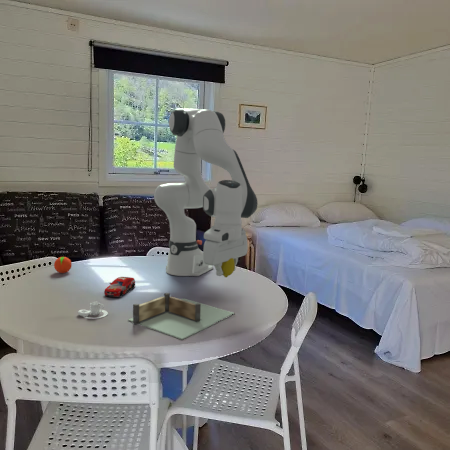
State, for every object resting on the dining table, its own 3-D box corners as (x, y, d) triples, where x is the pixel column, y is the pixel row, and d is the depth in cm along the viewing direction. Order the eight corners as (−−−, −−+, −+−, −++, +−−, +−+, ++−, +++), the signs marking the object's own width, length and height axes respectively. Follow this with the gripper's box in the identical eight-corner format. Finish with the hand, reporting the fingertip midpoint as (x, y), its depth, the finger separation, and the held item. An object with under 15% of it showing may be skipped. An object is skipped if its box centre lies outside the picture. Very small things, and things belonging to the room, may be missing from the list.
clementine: (70, 275, 180) (70, 258, 179) (52, 276, 178) (52, 259, 177) (72, 270, 187) (72, 254, 186) (55, 270, 186) (55, 254, 185)
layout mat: (183, 299, 155) (183, 298, 155) (234, 314, 143) (234, 312, 143) (127, 321, 134) (127, 319, 134) (181, 340, 121) (181, 338, 121)
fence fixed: (166, 309, 144) (166, 292, 143) (170, 310, 143) (170, 293, 142) (131, 323, 131) (131, 304, 130) (136, 324, 130) (135, 306, 129)
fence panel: (168, 311, 141) (168, 296, 140) (171, 310, 142) (172, 294, 141) (197, 321, 133) (198, 305, 132) (201, 320, 134) (201, 304, 133)
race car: (118, 300, 153) (117, 286, 153) (101, 298, 155) (100, 284, 154) (138, 286, 169) (138, 274, 168) (122, 284, 171) (122, 272, 170)
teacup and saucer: (74, 318, 136) (74, 306, 135) (87, 309, 143) (86, 297, 143) (101, 321, 134) (100, 308, 133) (112, 312, 142) (111, 300, 141)
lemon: (236, 279, 140) (237, 255, 139) (220, 280, 139) (221, 256, 137) (230, 274, 145) (231, 251, 144) (215, 275, 144) (215, 252, 142)
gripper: (237, 226, 149) (235, 265, 152) (200, 234, 133) (199, 277, 135) (253, 228, 146) (251, 268, 148) (216, 237, 129) (215, 282, 132)
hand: (225, 273), depth 142 cm, fingers closed on lemon, 5 cm apart
